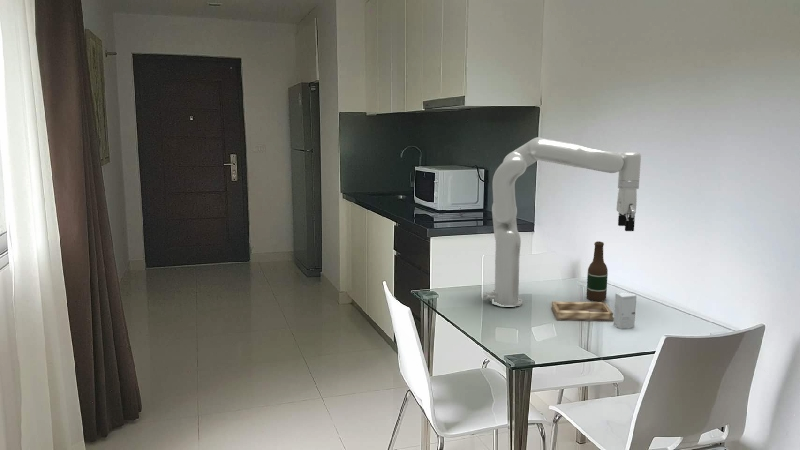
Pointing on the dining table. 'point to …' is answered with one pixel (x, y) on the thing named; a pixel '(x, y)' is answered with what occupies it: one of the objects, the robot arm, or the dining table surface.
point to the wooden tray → (582, 311)
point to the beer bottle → (597, 276)
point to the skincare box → (624, 310)
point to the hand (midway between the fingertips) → (625, 228)
